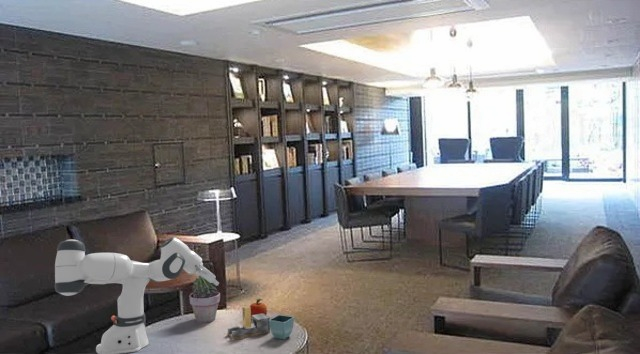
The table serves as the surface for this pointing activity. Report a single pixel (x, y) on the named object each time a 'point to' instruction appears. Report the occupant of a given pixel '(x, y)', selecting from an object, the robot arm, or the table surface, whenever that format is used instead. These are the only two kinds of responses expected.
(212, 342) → the table surface
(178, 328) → the table surface
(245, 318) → the tall wooden block
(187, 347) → the table surface
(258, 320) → the rail base
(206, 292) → the potted plant
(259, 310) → the fruit
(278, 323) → the flower pot
